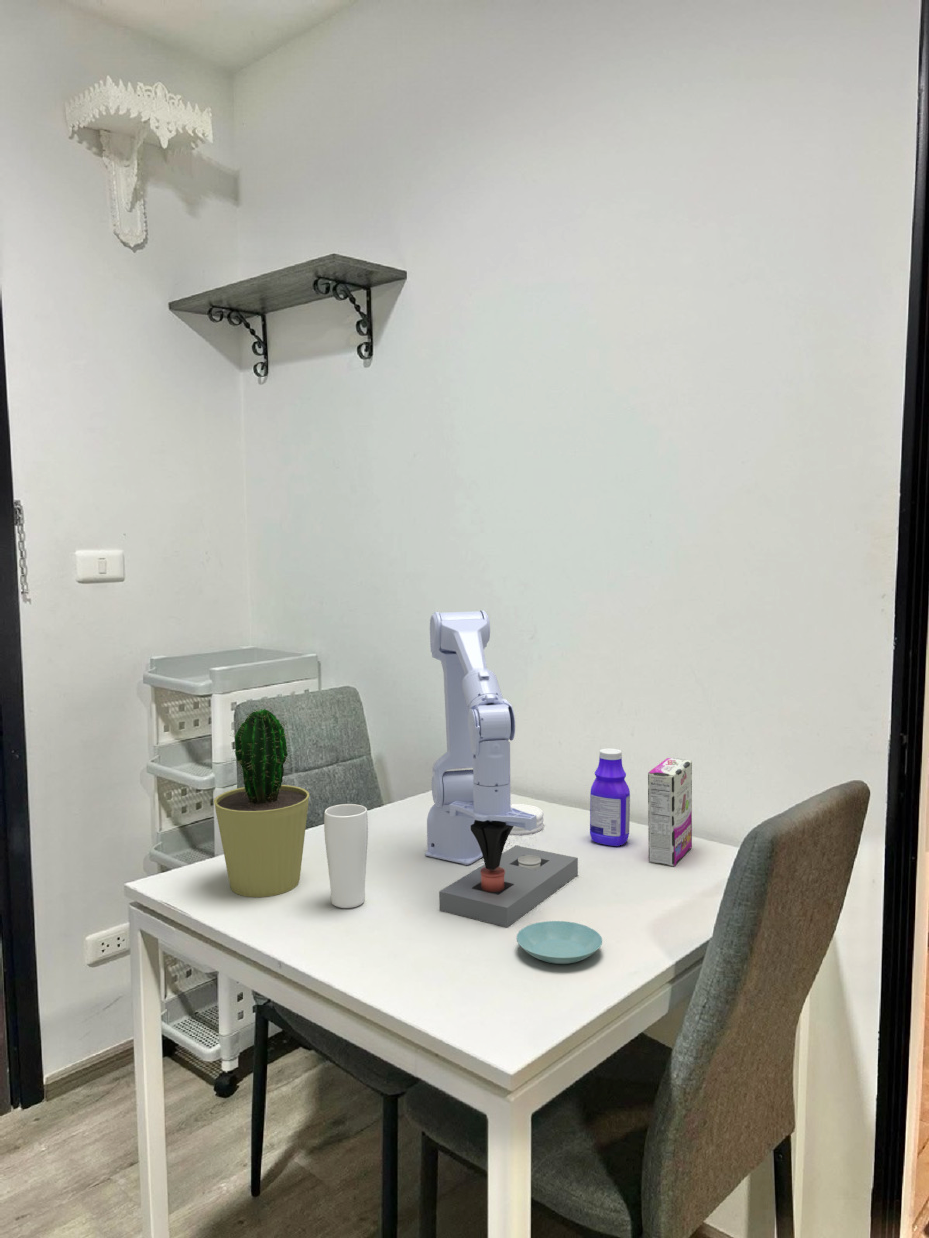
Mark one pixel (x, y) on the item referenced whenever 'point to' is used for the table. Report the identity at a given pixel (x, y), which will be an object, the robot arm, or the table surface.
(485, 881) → the red button
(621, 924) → the table surface
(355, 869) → the drinking glass
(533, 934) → the saucer
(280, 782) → the potted cactus
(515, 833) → the white ridged round container
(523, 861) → the sample container
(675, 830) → the candy bar box
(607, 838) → the bottle
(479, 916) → the console
